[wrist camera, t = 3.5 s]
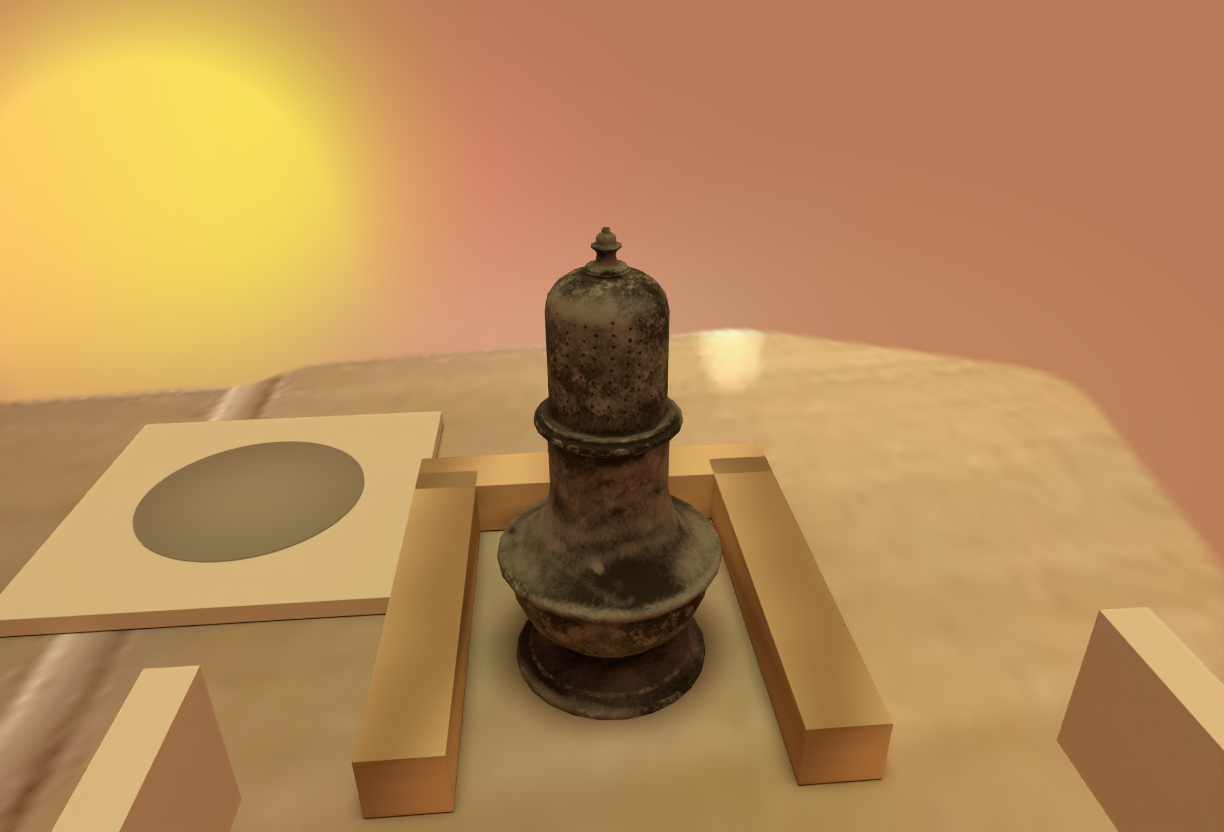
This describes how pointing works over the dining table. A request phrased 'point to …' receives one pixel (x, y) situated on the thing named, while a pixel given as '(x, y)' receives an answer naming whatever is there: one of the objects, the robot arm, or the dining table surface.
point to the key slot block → (760, 571)
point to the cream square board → (231, 526)
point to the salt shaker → (609, 508)
